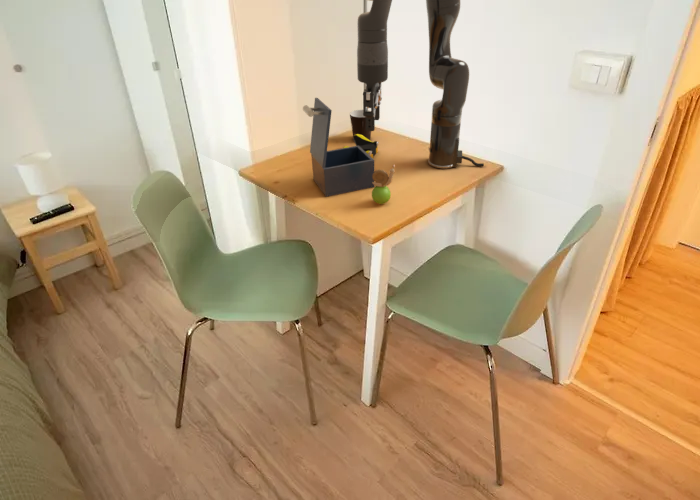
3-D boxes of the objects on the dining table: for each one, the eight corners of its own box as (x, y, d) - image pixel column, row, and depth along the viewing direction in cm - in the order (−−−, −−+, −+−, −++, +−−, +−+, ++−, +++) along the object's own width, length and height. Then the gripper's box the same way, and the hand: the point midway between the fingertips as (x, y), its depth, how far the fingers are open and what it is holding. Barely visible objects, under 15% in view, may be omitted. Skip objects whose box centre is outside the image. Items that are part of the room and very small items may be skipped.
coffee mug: (355, 134, 181) (354, 108, 175) (376, 136, 178) (376, 110, 172) (343, 145, 172) (342, 118, 166) (365, 147, 169) (365, 120, 163)
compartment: (359, 171, 153) (358, 145, 148) (374, 187, 143) (374, 160, 138) (313, 179, 149) (311, 153, 144) (325, 197, 139) (324, 169, 134)
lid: (317, 97, 135) (299, 96, 133) (331, 110, 125) (312, 109, 123) (312, 152, 143) (295, 152, 141) (325, 168, 133) (307, 168, 131)
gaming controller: (341, 162, 159) (369, 166, 156) (340, 147, 156) (368, 150, 153) (355, 146, 170) (381, 149, 167) (354, 132, 167) (381, 134, 164)
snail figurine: (392, 208, 132) (393, 169, 125) (370, 206, 133) (370, 168, 126) (394, 199, 136) (395, 161, 129) (373, 197, 137) (372, 160, 130)
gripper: (383, 67, 107) (383, 135, 116) (391, 54, 119) (390, 116, 128) (351, 67, 109) (353, 134, 118) (362, 53, 120) (363, 115, 129)
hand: (372, 124), depth 123 cm, fingers open, 8 cm apart
